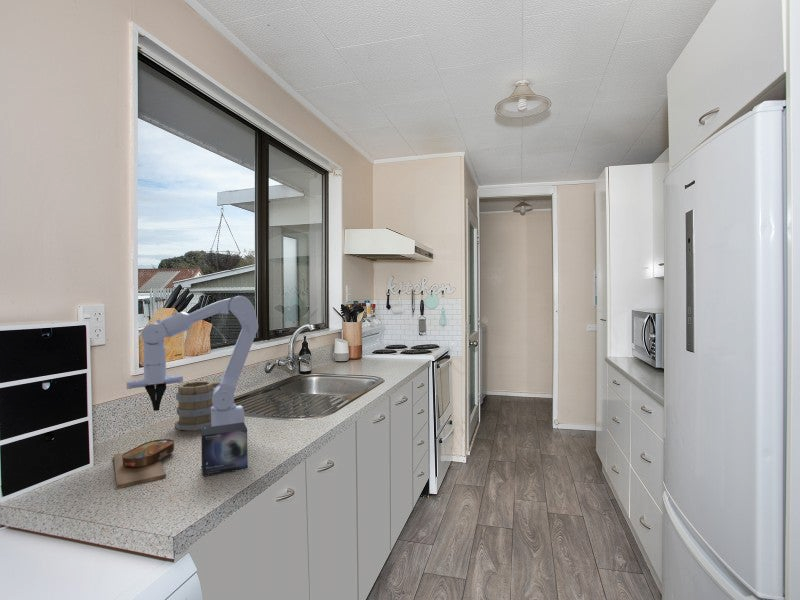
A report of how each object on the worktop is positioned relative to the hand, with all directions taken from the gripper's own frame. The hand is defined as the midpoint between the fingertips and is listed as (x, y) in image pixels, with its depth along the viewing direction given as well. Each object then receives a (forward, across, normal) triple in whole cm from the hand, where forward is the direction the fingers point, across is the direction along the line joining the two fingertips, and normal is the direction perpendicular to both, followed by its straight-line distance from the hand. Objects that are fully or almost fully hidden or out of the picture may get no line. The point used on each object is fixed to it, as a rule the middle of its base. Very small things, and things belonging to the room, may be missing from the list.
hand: (156, 410), depth 132 cm
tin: (+9, 0, +16) cm, 18 cm away
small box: (+11, -12, +31) cm, 35 cm away
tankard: (+11, -17, -15) cm, 25 cm away
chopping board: (+10, +6, +16) cm, 20 cm away
